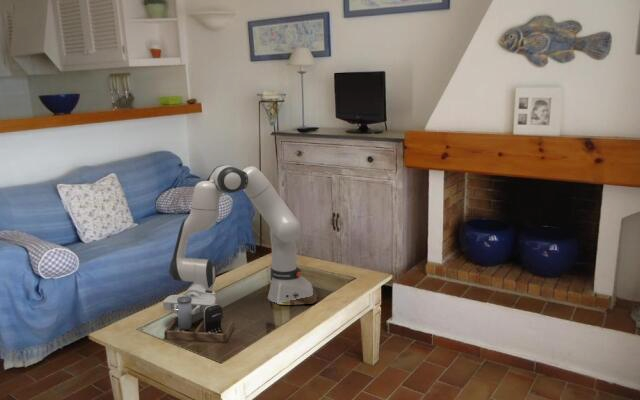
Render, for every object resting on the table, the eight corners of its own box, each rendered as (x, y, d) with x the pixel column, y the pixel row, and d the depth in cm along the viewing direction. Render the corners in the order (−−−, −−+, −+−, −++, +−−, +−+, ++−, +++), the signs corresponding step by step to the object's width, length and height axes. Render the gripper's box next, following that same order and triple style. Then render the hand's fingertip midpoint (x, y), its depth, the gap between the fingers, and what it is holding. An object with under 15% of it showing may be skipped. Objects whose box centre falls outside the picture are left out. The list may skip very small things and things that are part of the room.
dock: (233, 327, 212) (233, 319, 211) (225, 342, 199) (225, 334, 199) (175, 323, 213) (175, 315, 213) (164, 339, 201) (164, 330, 200)
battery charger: (208, 339, 202) (208, 310, 200) (203, 335, 205) (202, 307, 202) (224, 333, 207) (224, 305, 204) (218, 330, 209) (218, 302, 207)
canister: (194, 323, 209) (193, 296, 206) (189, 329, 203) (189, 302, 201) (180, 322, 209) (179, 295, 207) (175, 328, 204) (175, 301, 201)
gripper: (169, 289, 217) (156, 302, 204) (219, 292, 216) (210, 306, 203) (169, 303, 219) (157, 318, 205) (219, 306, 218) (210, 321, 204)
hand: (184, 312), depth 204 cm, fingers closed on canister, 5 cm apart
